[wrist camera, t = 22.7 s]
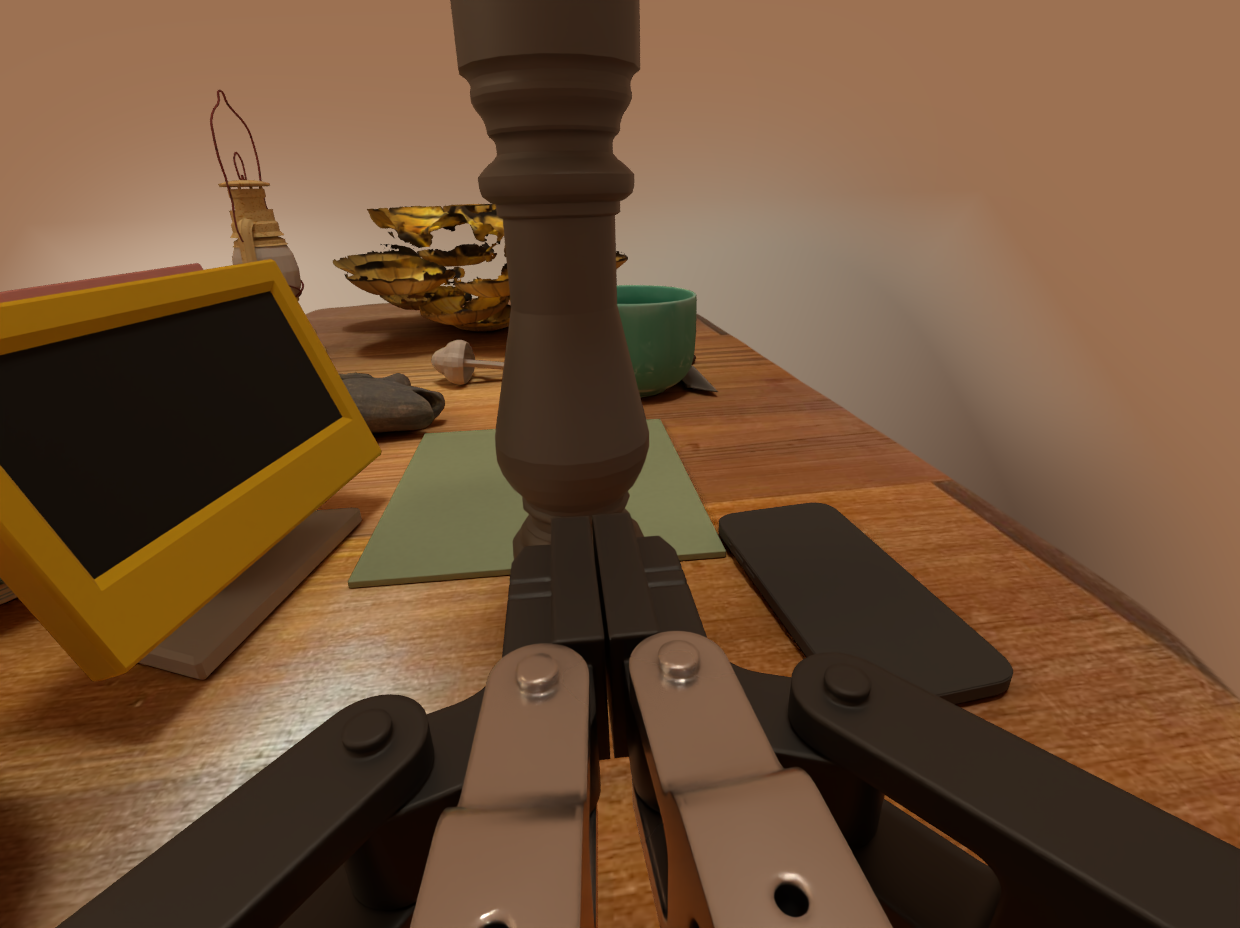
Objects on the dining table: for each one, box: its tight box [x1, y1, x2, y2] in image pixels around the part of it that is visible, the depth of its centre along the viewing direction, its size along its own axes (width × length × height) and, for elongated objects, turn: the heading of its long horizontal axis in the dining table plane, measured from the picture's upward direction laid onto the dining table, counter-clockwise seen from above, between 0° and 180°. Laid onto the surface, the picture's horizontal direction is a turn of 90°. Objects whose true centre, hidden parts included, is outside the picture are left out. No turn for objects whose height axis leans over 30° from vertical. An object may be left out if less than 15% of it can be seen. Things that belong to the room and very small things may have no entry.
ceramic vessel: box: [339, 373, 445, 433], centre depth 54 cm, size 5×25×15 cm
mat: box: [348, 419, 726, 588], centre depth 42 cm, size 20×22×1 cm
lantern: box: [210, 90, 326, 351], centre depth 73 cm, size 12×10×30 cm
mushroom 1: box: [333, 204, 628, 331], centre depth 90 cm, size 41×45×17 cm
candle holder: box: [450, 0, 649, 574], centre depth 23 cm, size 6×6×25 cm
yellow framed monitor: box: [0, 259, 381, 681], centre depth 29 cm, size 20×8×16 cm, turn 174°
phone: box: [719, 503, 1013, 704], centre depth 30 cm, size 7×1×15 cm
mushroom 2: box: [431, 340, 504, 385], centre depth 66 cm, size 7×5×12 cm
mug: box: [617, 285, 697, 397], centre depth 60 cm, size 17×12×10 cm
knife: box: [681, 355, 718, 392], centre depth 65 cm, size 14×4×1 cm, turn 8°
